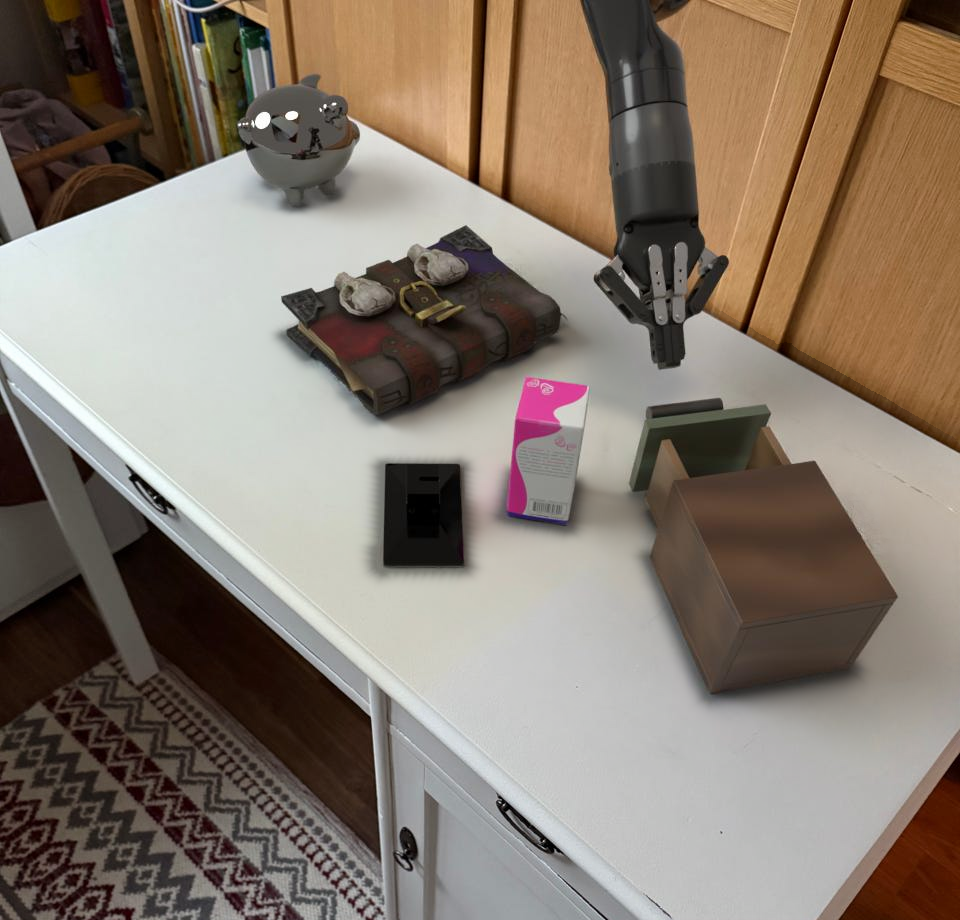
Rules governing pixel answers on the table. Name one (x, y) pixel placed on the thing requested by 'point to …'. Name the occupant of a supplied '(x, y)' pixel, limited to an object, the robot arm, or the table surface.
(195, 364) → the table surface
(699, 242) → the robot arm
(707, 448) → the drawer
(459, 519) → the black plastic holder
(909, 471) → the table surface
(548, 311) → the book
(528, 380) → the supplement box
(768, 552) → the cabinet
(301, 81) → the piggy bank
